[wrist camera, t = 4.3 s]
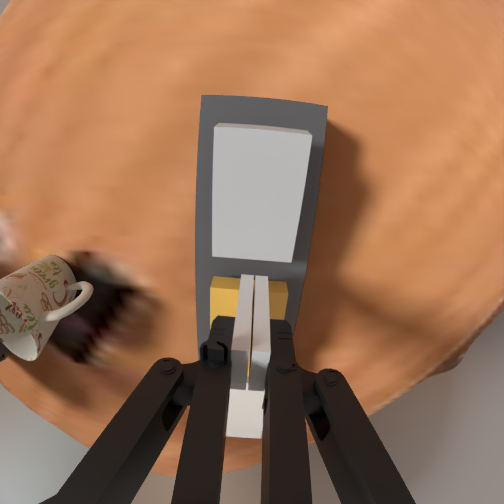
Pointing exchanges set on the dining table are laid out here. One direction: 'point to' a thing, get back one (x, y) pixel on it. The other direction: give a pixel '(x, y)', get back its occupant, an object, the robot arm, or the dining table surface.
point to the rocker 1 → (257, 190)
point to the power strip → (206, 264)
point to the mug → (37, 304)
